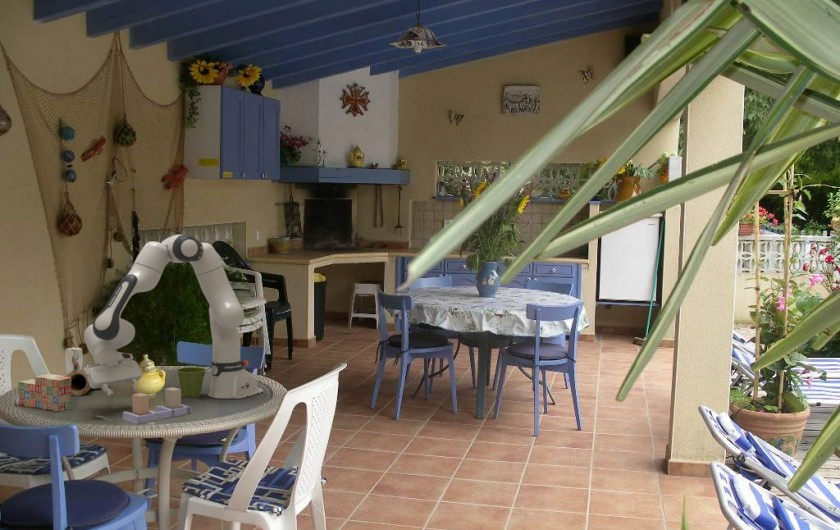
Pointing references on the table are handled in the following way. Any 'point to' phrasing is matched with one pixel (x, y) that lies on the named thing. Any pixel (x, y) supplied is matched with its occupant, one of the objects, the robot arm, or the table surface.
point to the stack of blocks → (46, 392)
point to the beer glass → (73, 359)
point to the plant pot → (191, 381)
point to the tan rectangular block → (140, 404)
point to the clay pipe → (79, 382)
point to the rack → (157, 414)
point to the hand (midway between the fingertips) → (123, 392)
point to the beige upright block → (172, 398)
